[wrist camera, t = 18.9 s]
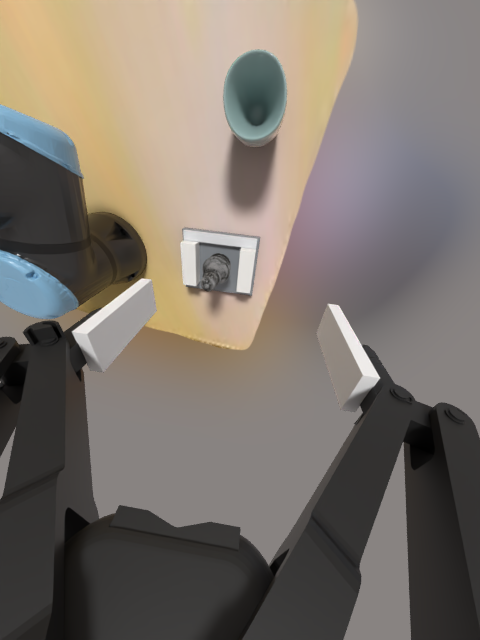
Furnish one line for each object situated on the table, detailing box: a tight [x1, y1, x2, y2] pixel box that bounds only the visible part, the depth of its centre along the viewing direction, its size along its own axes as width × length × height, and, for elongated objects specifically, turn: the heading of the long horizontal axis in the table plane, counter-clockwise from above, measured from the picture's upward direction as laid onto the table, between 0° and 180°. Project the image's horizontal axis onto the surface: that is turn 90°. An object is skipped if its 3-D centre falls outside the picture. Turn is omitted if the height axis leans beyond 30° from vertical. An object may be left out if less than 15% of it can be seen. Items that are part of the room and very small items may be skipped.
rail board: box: [180, 228, 260, 296], centre depth 45 cm, size 16×13×4 cm
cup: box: [223, 49, 287, 147], centre depth 29 cm, size 8×8×10 cm
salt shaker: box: [200, 253, 231, 291], centre depth 40 cm, size 6×6×12 cm
